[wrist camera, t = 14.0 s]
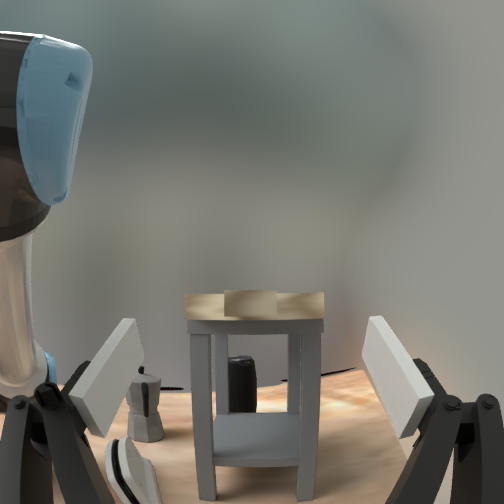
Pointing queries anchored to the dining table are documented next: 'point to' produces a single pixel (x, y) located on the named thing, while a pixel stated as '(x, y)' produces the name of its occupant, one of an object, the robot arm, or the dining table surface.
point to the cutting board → (254, 305)
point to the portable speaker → (242, 385)
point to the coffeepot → (144, 408)
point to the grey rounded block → (131, 473)
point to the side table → (256, 424)
